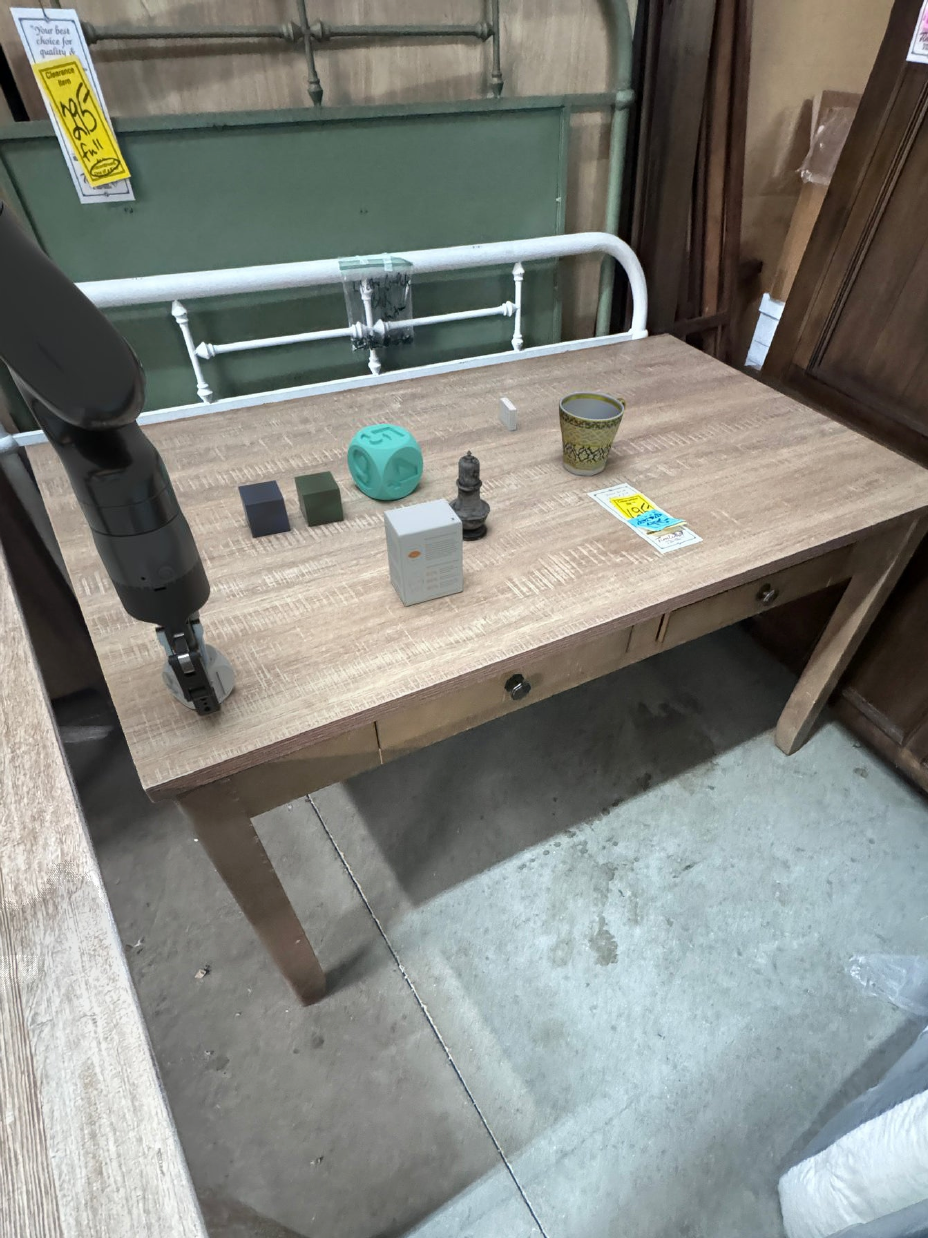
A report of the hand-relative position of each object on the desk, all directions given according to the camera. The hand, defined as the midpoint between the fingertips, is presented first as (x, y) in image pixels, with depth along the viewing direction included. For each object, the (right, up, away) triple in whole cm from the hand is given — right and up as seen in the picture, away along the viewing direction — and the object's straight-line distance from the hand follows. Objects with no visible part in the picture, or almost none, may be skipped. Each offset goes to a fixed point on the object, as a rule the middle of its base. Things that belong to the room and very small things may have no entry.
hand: (204, 687), depth 72 cm
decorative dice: (+13, +30, +31) cm, 46 cm away
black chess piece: (+26, +22, +25) cm, 42 cm away
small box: (+21, +13, +15) cm, 29 cm away
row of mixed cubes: (-5, +22, +21) cm, 31 cm away
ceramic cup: (+45, +37, +40) cm, 70 cm away
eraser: (+31, +46, +48) cm, 73 cm away
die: (0, -1, +1) cm, 1 cm away
